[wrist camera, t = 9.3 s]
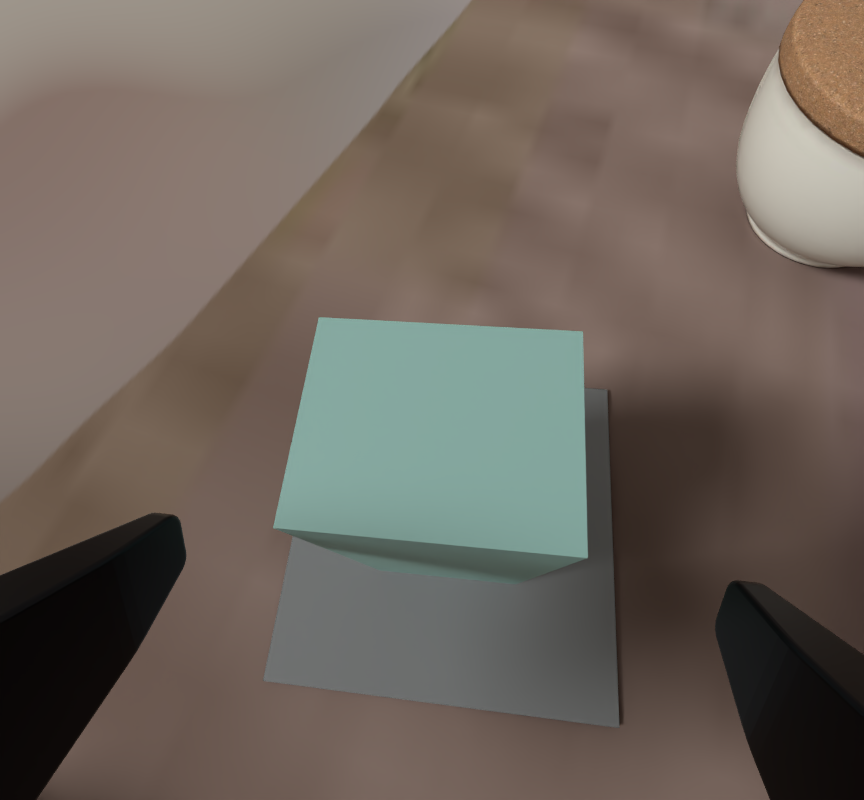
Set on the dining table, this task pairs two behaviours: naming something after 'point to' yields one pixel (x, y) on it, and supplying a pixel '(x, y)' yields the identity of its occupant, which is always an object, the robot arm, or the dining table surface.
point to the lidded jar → (809, 140)
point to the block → (441, 449)
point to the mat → (462, 624)
